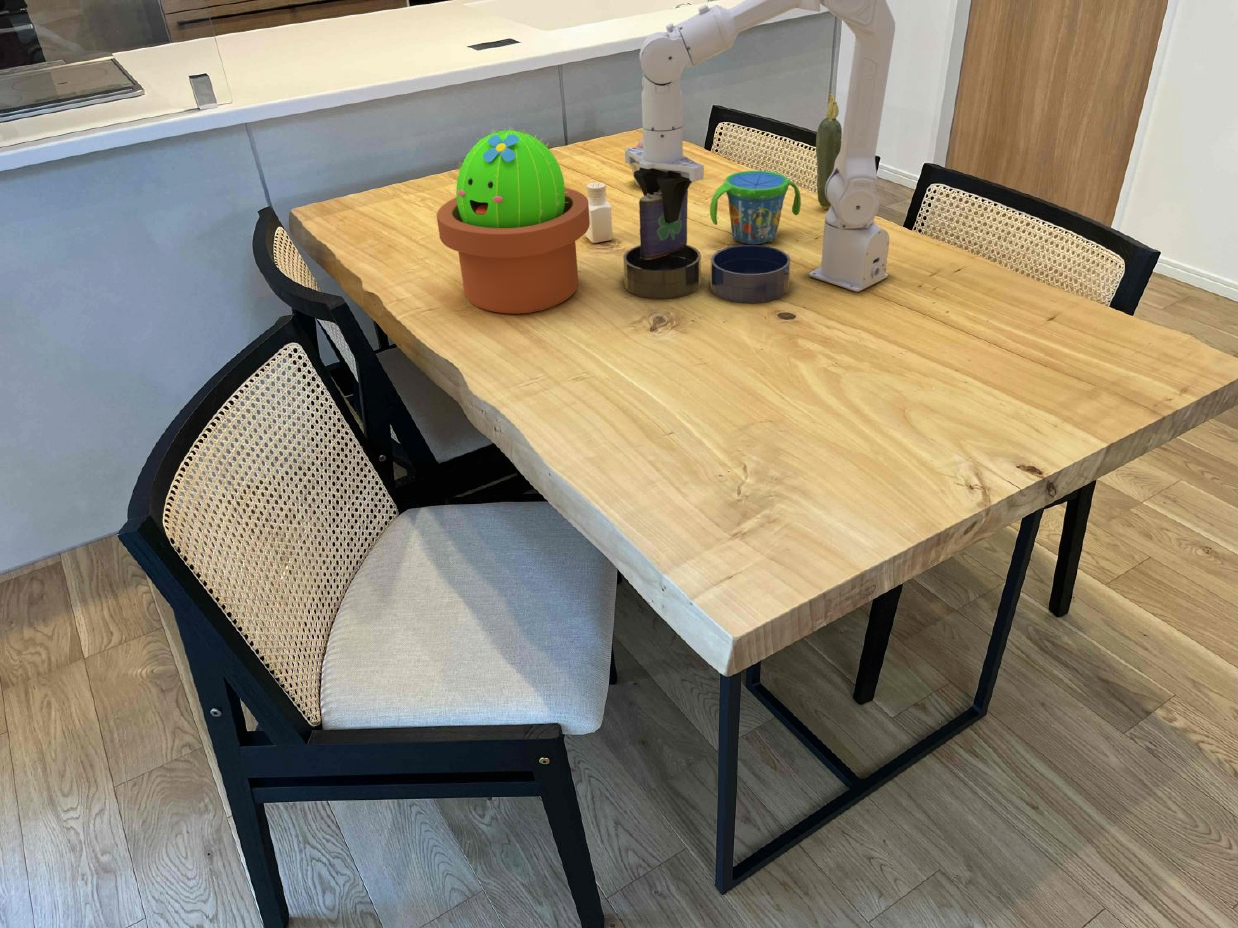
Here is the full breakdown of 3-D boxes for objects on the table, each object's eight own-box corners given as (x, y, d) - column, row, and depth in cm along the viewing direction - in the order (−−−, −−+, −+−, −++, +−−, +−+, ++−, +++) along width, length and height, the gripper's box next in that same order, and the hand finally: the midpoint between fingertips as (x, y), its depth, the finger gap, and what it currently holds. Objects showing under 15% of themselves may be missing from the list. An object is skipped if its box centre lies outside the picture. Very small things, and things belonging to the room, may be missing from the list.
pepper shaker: (614, 240, 162) (611, 186, 157) (592, 244, 161) (589, 190, 156) (605, 233, 165) (602, 180, 160) (584, 237, 164) (581, 183, 159)
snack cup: (789, 224, 165) (793, 166, 160) (807, 245, 157) (812, 185, 151) (703, 231, 164) (703, 174, 158) (716, 253, 155) (717, 193, 150)
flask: (679, 241, 147) (680, 173, 141) (692, 246, 145) (694, 177, 139) (635, 256, 142) (635, 186, 136) (649, 262, 140) (648, 191, 134)
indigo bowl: (804, 286, 143) (806, 258, 141) (752, 310, 137) (754, 281, 134) (746, 265, 151) (747, 239, 148) (694, 288, 144) (694, 260, 142)
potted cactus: (507, 256, 159) (489, 103, 144) (618, 277, 149) (610, 115, 135) (422, 305, 143) (393, 139, 129) (539, 333, 133) (521, 157, 119)
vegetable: (835, 214, 168) (845, 98, 157) (810, 213, 169) (819, 98, 158) (835, 206, 172) (845, 92, 161) (811, 205, 173) (819, 92, 162)
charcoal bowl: (716, 282, 146) (716, 254, 143) (661, 306, 139) (660, 278, 137) (663, 262, 153) (662, 236, 151) (608, 284, 147) (607, 257, 144)
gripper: (607, 123, 135) (612, 215, 143) (678, 141, 126) (679, 237, 134) (643, 113, 139) (645, 203, 147) (714, 130, 130) (713, 224, 137)
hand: (664, 219), depth 140 cm, fingers closed on flask, 3 cm apart
